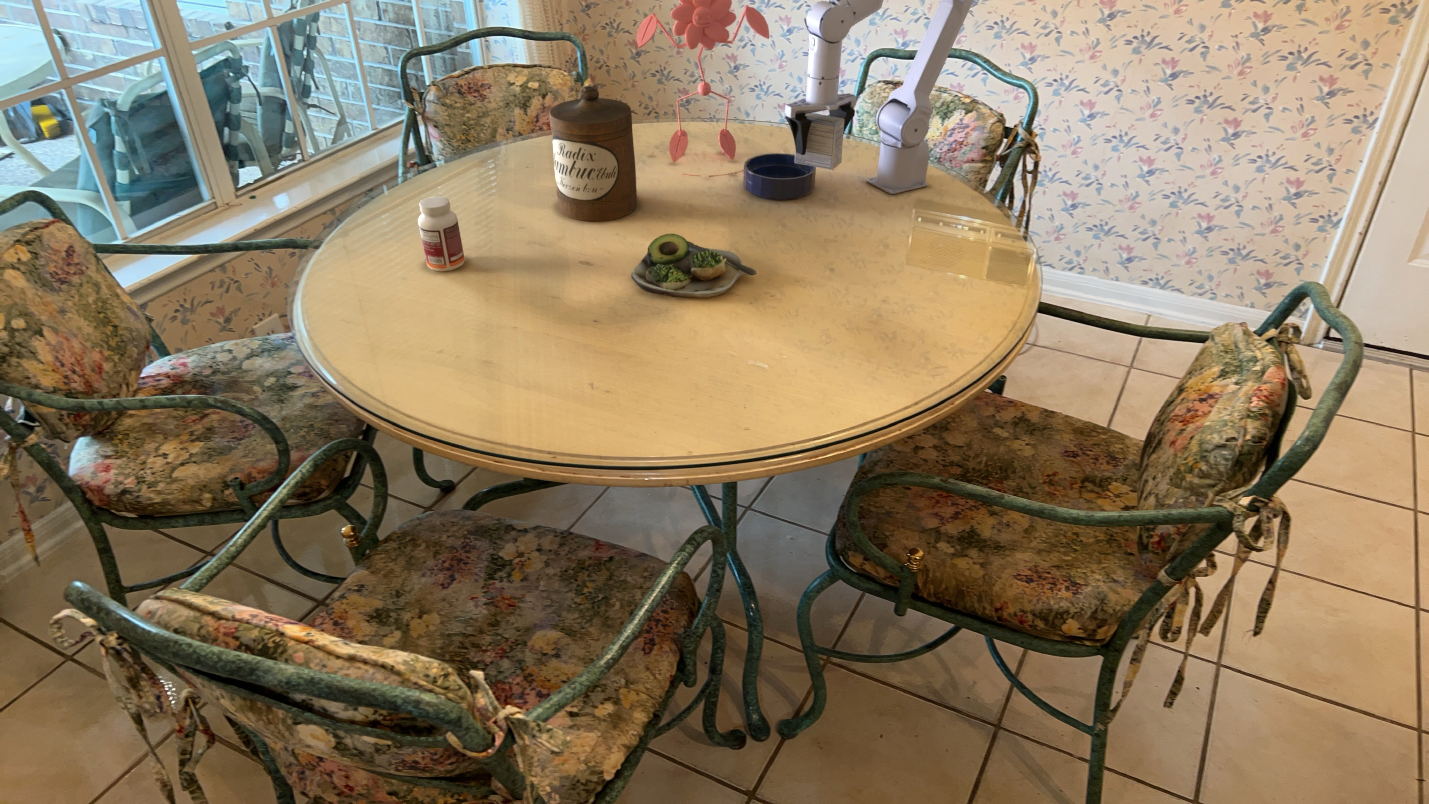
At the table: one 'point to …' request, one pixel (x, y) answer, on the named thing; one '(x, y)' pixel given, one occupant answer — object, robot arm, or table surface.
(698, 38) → the figurine
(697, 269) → the salad plate
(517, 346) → the table surface
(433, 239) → the pill bottle
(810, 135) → the medicine box
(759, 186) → the bowl
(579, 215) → the wooden container
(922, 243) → the table surface
